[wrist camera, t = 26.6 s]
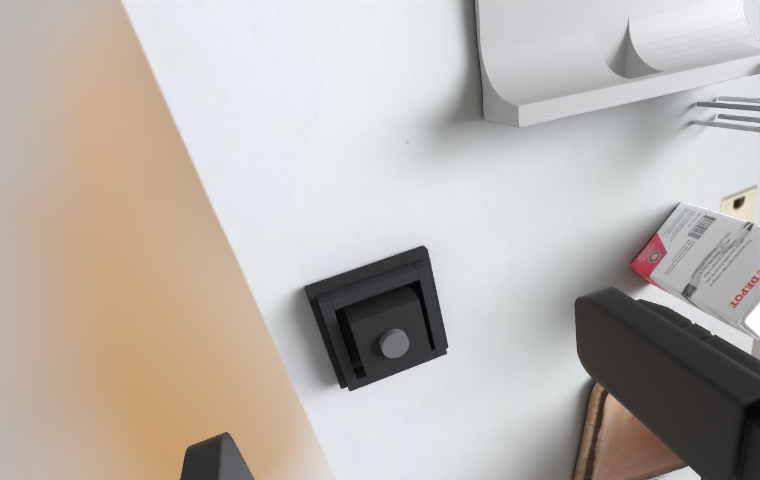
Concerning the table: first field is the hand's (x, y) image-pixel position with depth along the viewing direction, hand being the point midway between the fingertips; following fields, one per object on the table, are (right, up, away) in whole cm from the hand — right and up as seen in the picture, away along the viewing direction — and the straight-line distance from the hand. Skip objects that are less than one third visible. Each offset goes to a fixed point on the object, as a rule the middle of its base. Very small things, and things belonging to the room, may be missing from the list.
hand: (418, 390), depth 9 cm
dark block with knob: (-1, -4, +29) cm, 30 cm away
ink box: (+30, +3, +37) cm, 47 cm away
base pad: (-1, -4, +30) cm, 31 cm away
